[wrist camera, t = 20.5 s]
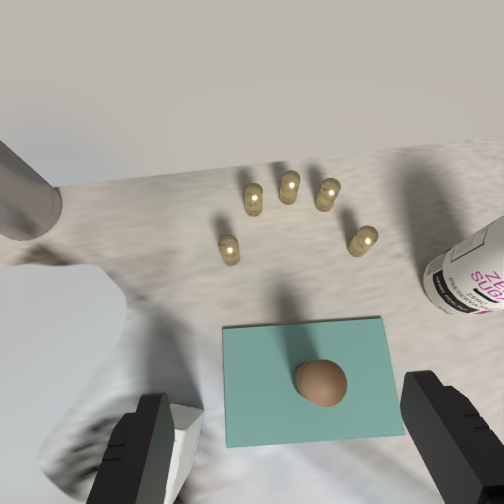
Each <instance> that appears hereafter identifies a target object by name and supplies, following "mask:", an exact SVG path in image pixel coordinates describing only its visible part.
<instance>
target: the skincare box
mask: <svg viewBox="0 0 504 504" xmlns="http://www.w3.org/2000/svg"><path fill="white" fill-rule="evenodd" d="M170 409H171V413H172V417H173V421H174V427H175V439H174V446H173V452H172V457H171V463H170V469H169V474H168V480H167V485H166V491H165V497H164V502H163V504H173V502H174V500H175V498H176V496H177V495H178V493H179V491H180V489H181V487H182V485H183V483H184V481H185V479H186V477H187V476H188V474H189V472H190V470H191V468H192V466H193V463H194V458H195V454H196V449H197V444H198V439H199V435H200V430H201V425H202V420H203V416H204V410H203V409H199V408H194V407H189V406H184V405H179V404H174V403H171V404H170Z"/></svg>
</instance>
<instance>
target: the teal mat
mask: <svg viewBox="0 0 504 504" xmlns="http://www.w3.org/2000/svg"><path fill="white" fill-rule="evenodd" d="M223 356H224V384H225V412H226V440H227V448H233V447H247V446H261V445H275V444H289V443H303V442H317V441H331V440H345V439H359V438H373V437H387V436H401V435H405V432H404V427H403V421H402V416H401V411H400V406H399V401H398V396H397V390H396V385H395V380H394V375H393V370H392V365H391V359H390V354H389V349H388V344H387V339H386V334H385V329H384V323H383V318H379V319H364V320H350V321H335V322H321V323H306V324H292V325H277V326H263V327H248V328H234V329H223ZM321 359H326V360H330V361H333V362H335V363H336V364H337V365H339V366H340V367H341V369H342V370H343V371H344V373H345V375H346V379H347V391H346V394H345V396H344V398H343V399H342V400H341V402H339V403H338V404H336V405H334V406H331V407H322V406H318V405H316V404H314V403H313V402H311V401H309V400H308V399H306V398H304V397H302V396H301V395H299V394H298V393H297V392H296V390H295V389H294V386H293V383H292V376H293V372H294V370H295V369H296V367H297V366H299V365H300V364H302V363H305V362H310V361H315V360H321Z"/></svg>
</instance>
